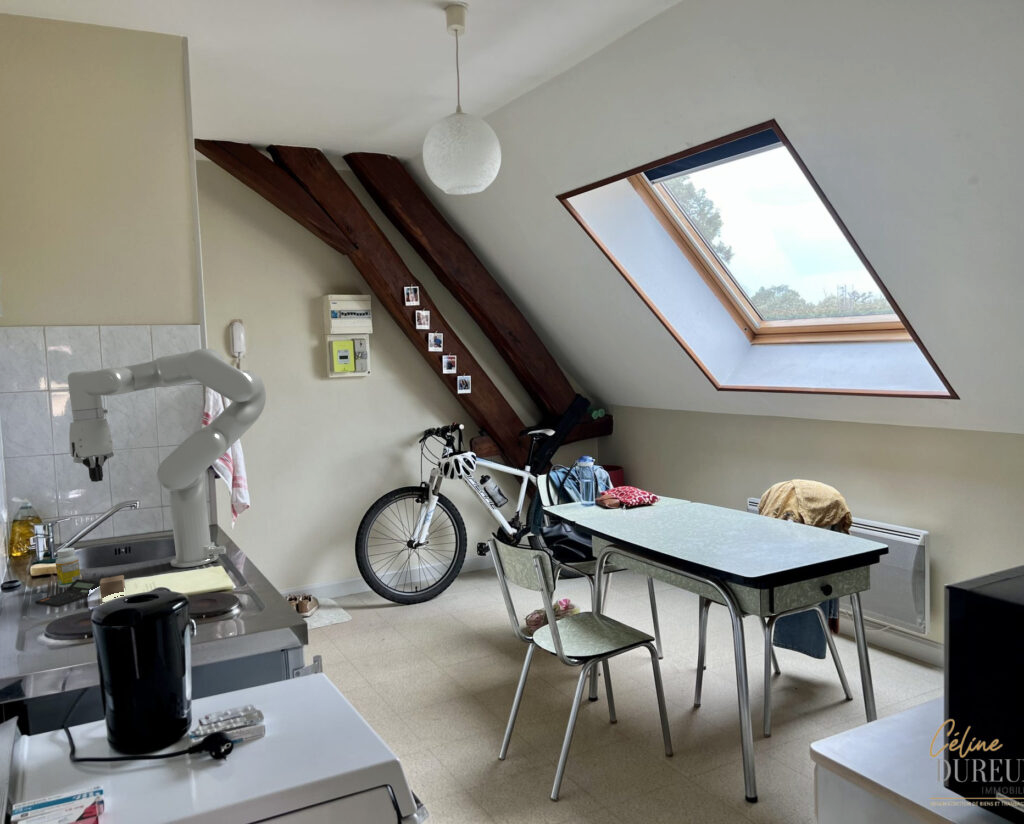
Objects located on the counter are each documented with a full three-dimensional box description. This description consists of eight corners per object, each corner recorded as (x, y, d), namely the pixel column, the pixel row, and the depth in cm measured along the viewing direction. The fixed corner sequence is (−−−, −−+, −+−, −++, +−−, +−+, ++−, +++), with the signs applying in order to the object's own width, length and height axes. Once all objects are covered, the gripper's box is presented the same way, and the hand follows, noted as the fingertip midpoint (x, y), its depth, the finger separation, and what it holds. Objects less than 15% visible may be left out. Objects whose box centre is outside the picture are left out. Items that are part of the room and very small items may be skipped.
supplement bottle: (80, 585, 210) (75, 550, 209) (57, 589, 208) (52, 553, 207) (82, 580, 215) (78, 545, 214) (60, 584, 213) (55, 549, 212)
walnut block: (125, 594, 199) (123, 574, 199) (124, 599, 194) (122, 579, 194) (103, 598, 197) (101, 578, 197) (101, 603, 193) (99, 583, 192)
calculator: (35, 604, 197) (34, 592, 196) (79, 589, 207) (78, 578, 207) (58, 608, 192) (57, 596, 192) (102, 593, 202) (101, 581, 202)
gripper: (107, 412, 227) (115, 475, 229) (53, 419, 215) (62, 485, 216) (121, 412, 223) (130, 476, 224) (67, 419, 210) (76, 487, 212)
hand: (96, 480), depth 220 cm, fingers closed
